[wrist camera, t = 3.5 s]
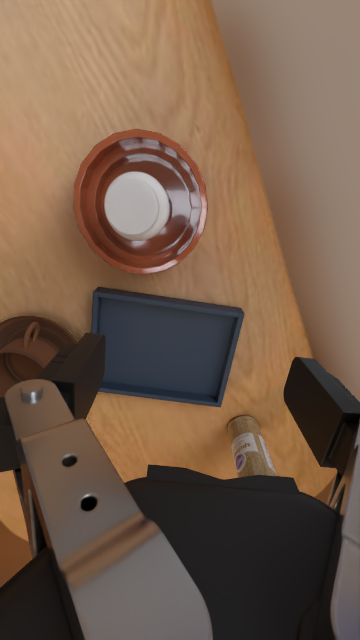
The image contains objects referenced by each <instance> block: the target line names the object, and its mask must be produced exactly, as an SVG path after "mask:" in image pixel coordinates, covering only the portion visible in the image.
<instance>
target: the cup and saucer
mask: <svg viewBox="0 0 360 640" xmlns="http://www.w3.org/2000/svg"><path fill="white" fill-rule="evenodd" d="M71 343H75V344H78V342H77V341H76V340H75V338H74V337H73V336H72V335H71V334H70V333H69V332H68V331H67V330H66V329H64V328H63V327H62V326H60V325H59V324H57V323H55V322H53V321H51V320H48V319H45V318H41V317H36V316H19V317H14V318H11V319H8V320H6V321H4V322H2V323H0V397H4V396H5V393H6V392H7V390H8V389H9V388H11V387H12V386H14V385H15V384H17V383H20V382H23V381H26V380H32V379H35V378H36V377H37V376H38V375H39V374H40V372H41V371H42V370H43V369H44V368H45V367H46V365H47V364H48V363H49V362H50V361H51V360H52V358H53V357H55V355H56V354H57V353H58V351H59V350H60V349H61V348H63V347H65V346H67V345H69V344H71Z"/></svg>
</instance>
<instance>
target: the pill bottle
mask: <svg viewBox="0 0 360 640" xmlns="http://www.w3.org/2000/svg"><path fill="white" fill-rule="evenodd" d="M104 209H105V214H106V217H107V220H108V222H109V223H110V225H111V226H112V228H113V229H114V230H115V231H116V232H117V233H118V234H119V235H121V236H123V237H124V238H127V239H129V240H134V241H143V240H147V239H150V238H152V237H154V236H155V235H157V234H158V233H159V232H160V231H161V230H162V229H163V228H164V227H165V225H166V224H167V222H168V220H169V218H170V214H171V203H170V199H169V196H168V194H167V192H166V191H165V189H164V188H163V187H162V185H161V184H160V183H159V182H158V181H157V180H156V179H155V178H153V177H152V176H150V175H148V174H146V173H142V172H127V173H124V174H122V175H120V176H118V177H117V178H116V179H115V180H114V181H113V182H112V183H111V184H110V186H109V187H108V189H107V192H106V195H105V200H104Z"/></svg>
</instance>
